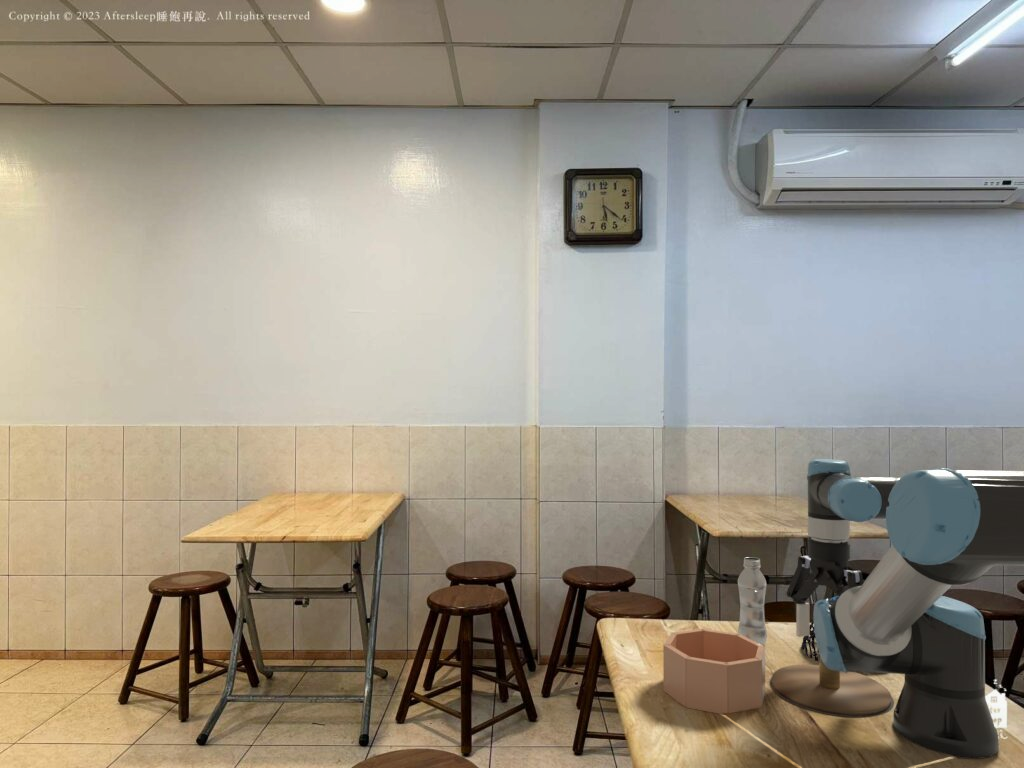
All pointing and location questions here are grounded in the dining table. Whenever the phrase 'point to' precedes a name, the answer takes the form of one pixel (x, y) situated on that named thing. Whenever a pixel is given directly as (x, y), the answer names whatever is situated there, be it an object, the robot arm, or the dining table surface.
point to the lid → (831, 690)
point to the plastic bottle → (752, 601)
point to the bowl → (714, 670)
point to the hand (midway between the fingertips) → (828, 647)
